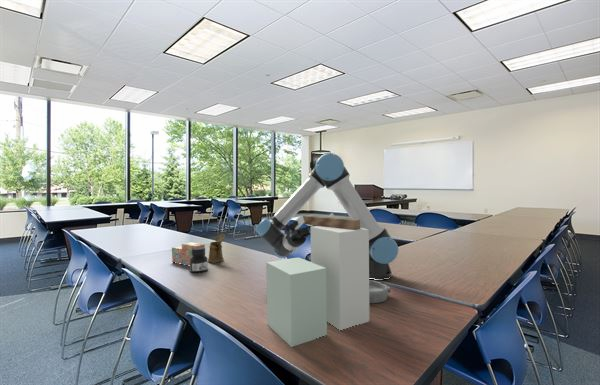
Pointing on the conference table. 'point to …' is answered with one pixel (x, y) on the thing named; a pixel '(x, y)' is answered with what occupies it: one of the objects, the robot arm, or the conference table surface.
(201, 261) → the ink bottle
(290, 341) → the low stand
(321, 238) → the off-white rectangular block
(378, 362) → the conference table surface
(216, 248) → the brown burlap sack
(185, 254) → the stack of blocks
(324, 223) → the walnut bar
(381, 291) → the dish
